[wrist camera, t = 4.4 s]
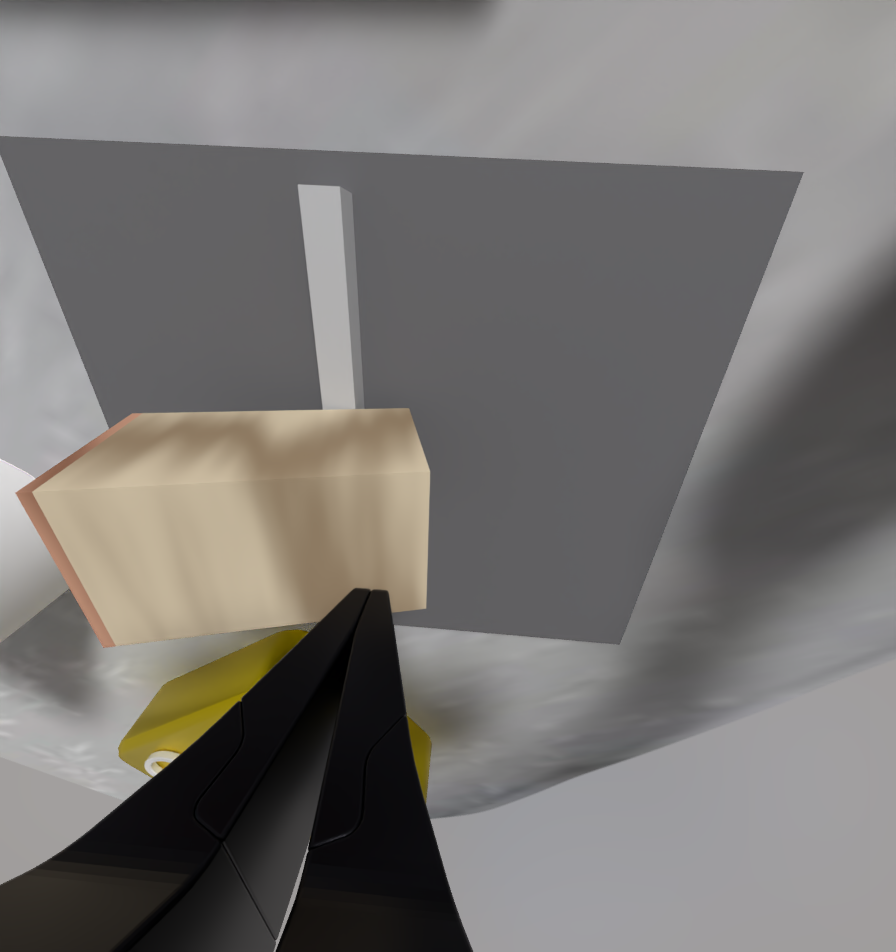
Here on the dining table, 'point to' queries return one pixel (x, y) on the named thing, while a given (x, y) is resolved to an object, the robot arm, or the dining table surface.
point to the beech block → (236, 519)
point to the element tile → (219, 707)
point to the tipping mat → (429, 331)
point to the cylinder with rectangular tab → (22, 558)
